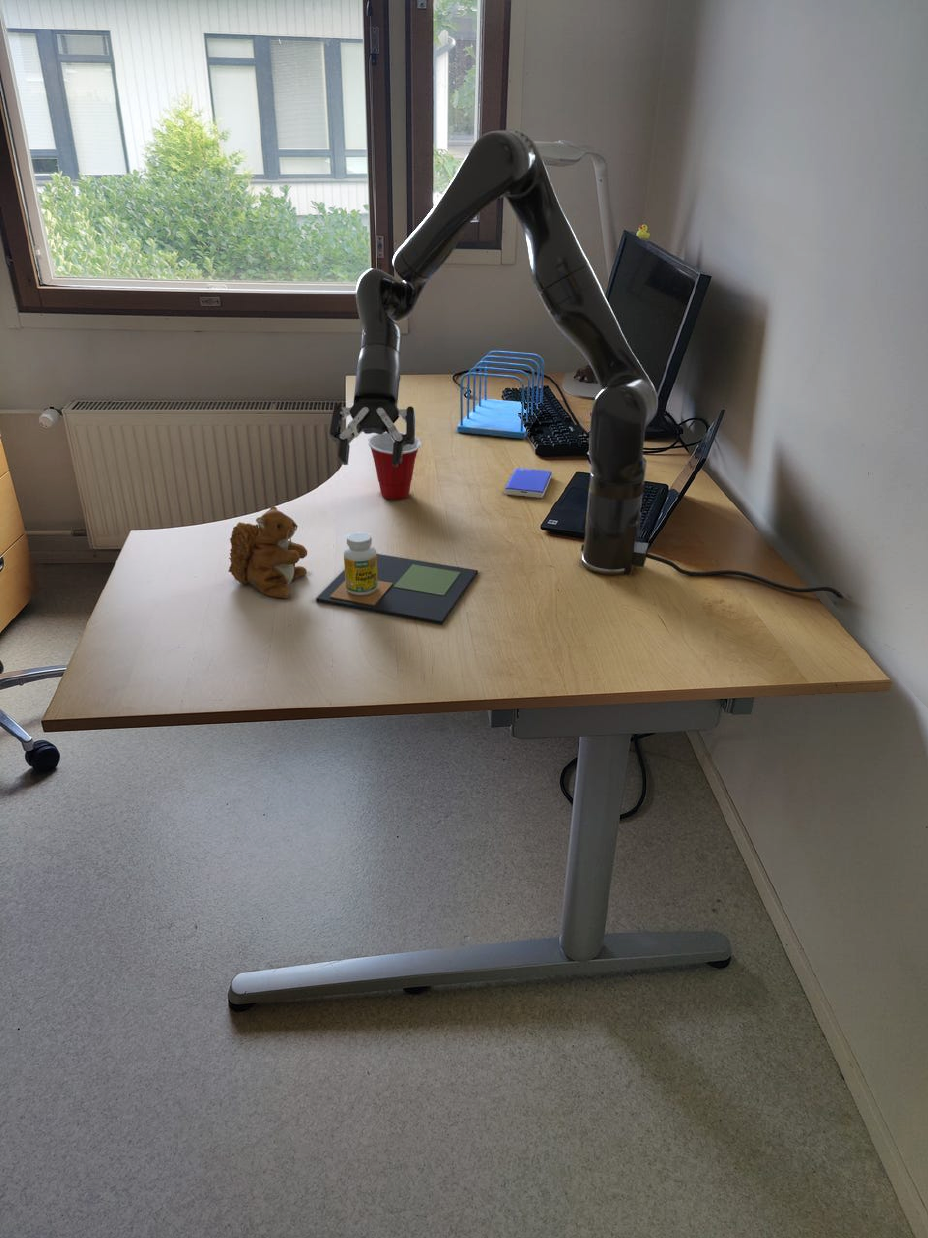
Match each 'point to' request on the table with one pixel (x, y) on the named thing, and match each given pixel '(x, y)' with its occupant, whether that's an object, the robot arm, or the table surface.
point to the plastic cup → (389, 477)
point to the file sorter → (499, 401)
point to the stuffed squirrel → (267, 554)
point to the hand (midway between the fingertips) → (369, 464)
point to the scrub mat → (406, 589)
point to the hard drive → (528, 482)
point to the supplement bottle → (360, 564)
